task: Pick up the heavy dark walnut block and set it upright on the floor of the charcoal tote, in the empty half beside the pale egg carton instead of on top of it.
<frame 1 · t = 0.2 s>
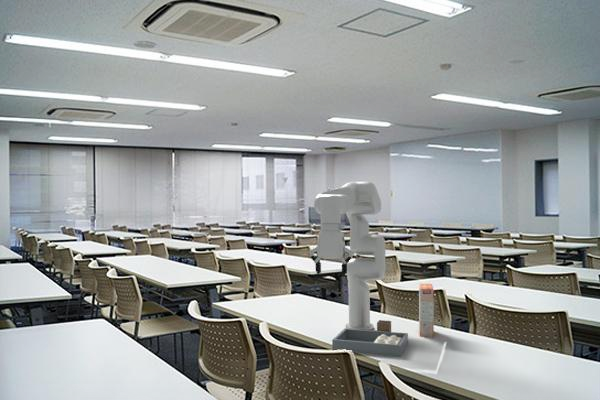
hand: (331, 273, 195), 31 cm above the table, tool pointing down, fingers open, 9 cm apart
egg carton: (387, 348, 202), point 1 cm above the table, touching tote
walnut block: (384, 338, 219), on the table
tote: (370, 349, 204), on the table
cracker box: (426, 334, 225), on the table
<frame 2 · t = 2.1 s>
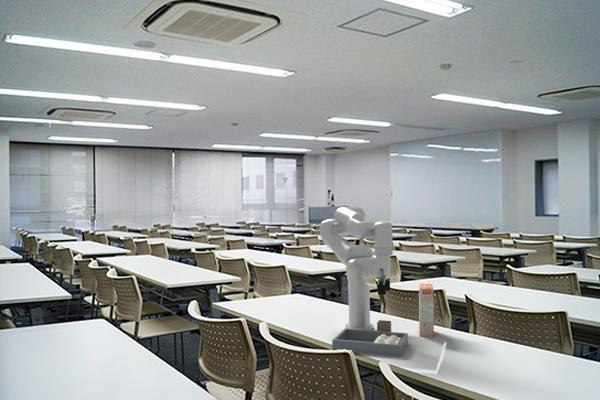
hand: (384, 292, 219), 19 cm above the table, tool pointing down, fingers open, 9 cm apart
nothing on the table moved.
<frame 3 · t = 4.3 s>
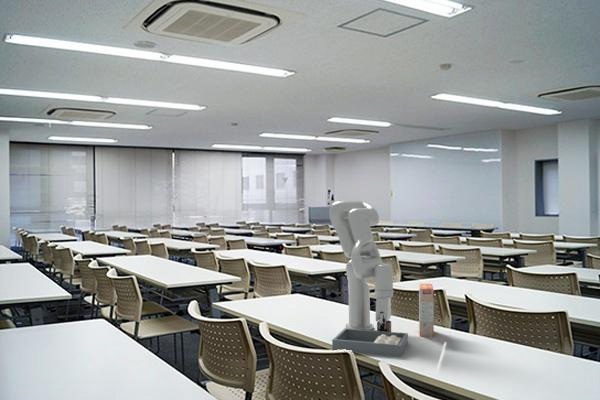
hand: (384, 336, 219), 1 cm above the table, tool pointing down, fingers closed on walnut block, 5 cm apart
walnut block: (384, 338, 219), on the table, touching gripper
everything else where it was.
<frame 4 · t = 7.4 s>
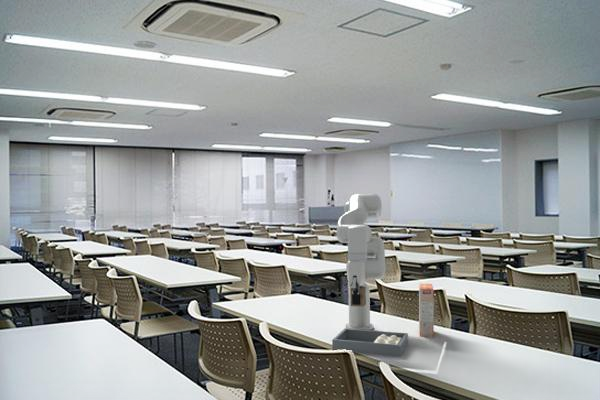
hand: (357, 302, 207), 18 cm above the table, tool pointing down, fingers closed on walnut block, 5 cm apart
walnut block: (358, 305, 207), point 17 cm above the table, touching gripper
everything else where it was.
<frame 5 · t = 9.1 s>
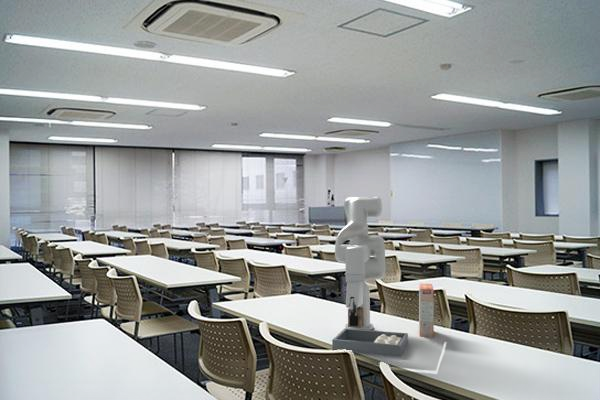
hand: (355, 323, 206), 10 cm above the table, tool pointing down, fingers closed on walnut block, 5 cm apart
walnut block: (355, 326, 206), point 9 cm above the table, touching gripper
everything else where it was.
when the fingers open (3 cm above the table, at t = 10.6 s): walnut block drops 1 cm, resting on tote.
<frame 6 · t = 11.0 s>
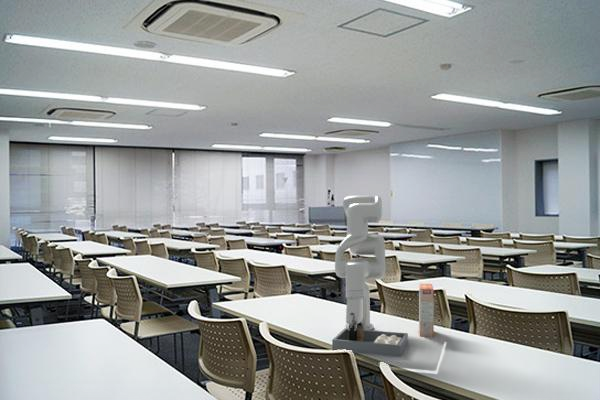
hand: (355, 337, 206), 4 cm above the table, tool pointing down, fingers open, 8 cm apart
walnut block: (356, 345, 206), point 1 cm above the table, touching tote
everything else where it was.
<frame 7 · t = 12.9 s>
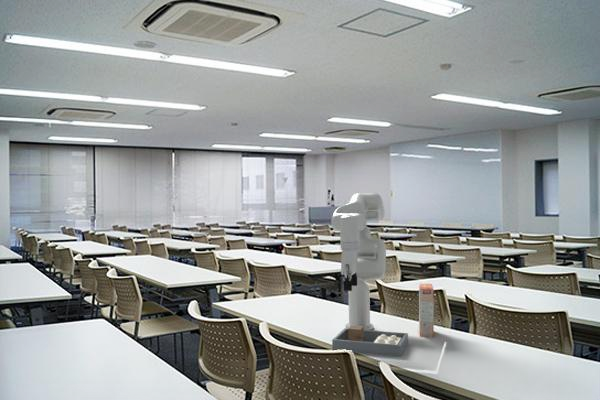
hand: (350, 288, 211), 23 cm above the table, tool pointing down, fingers open, 9 cm apart
nothing on the table moved.
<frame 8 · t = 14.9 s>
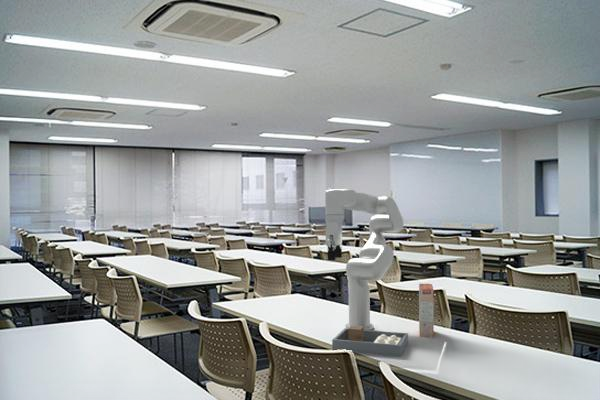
hand: (334, 258, 222), 33 cm above the table, tool pointing down, fingers open, 9 cm apart
nothing on the table moved.
at the end: walnut block inside the target area on the tote (0.4 cm from its centre), point 1.0 cm above the tote's base; walnut block tilted 0°; egg carton moved 0.0 cm from its start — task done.
